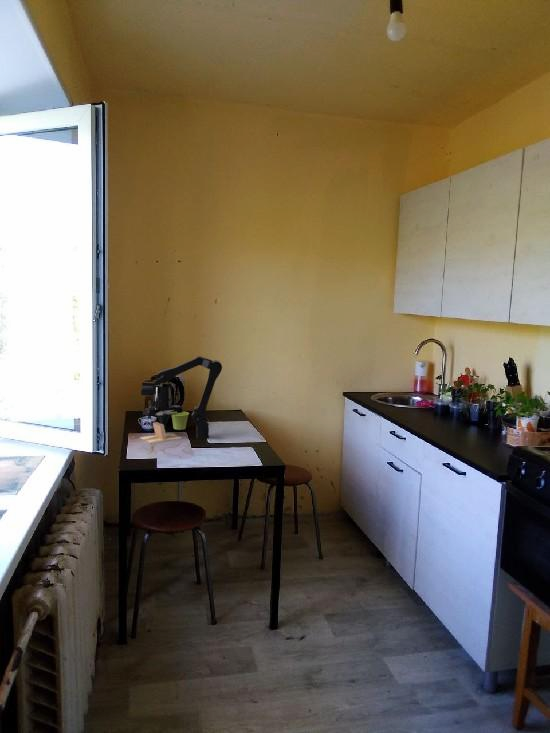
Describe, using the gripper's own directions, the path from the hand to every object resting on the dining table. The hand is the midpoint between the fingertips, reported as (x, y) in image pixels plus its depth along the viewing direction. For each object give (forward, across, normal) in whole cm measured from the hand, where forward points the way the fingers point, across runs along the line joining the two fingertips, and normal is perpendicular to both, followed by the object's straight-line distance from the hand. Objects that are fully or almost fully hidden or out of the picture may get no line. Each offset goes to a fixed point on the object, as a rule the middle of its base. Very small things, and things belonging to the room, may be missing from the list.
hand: (163, 428), depth 263 cm
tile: (+4, +1, 0) cm, 5 cm away
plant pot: (+6, -16, -12) cm, 21 cm away
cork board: (+5, +1, 0) cm, 5 cm away
